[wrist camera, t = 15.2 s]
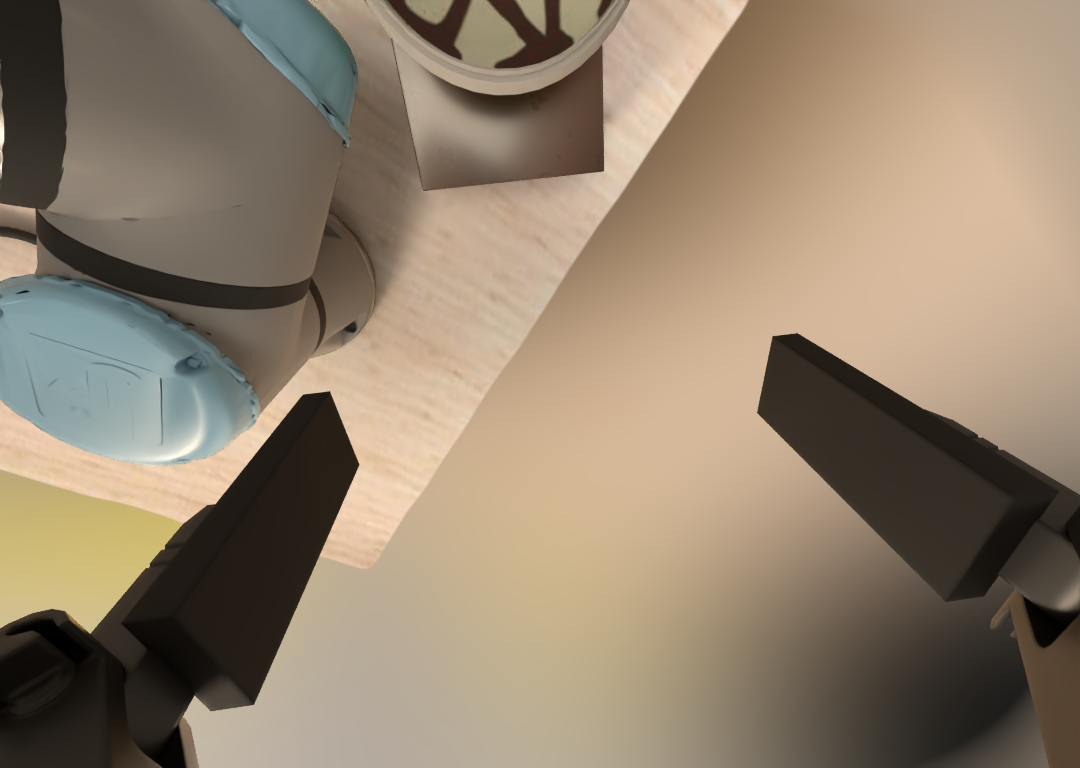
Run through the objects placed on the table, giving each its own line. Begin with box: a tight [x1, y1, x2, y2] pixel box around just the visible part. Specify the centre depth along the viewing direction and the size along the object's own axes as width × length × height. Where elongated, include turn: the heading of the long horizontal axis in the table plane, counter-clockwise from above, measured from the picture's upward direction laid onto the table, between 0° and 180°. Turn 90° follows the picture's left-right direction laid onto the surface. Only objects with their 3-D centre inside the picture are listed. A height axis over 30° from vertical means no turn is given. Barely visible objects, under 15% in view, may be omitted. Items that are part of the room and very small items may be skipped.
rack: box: [391, 38, 604, 191], centre depth 29 cm, size 12×15×12 cm
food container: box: [365, 0, 630, 95], centre depth 19 cm, size 12×6×10 cm, turn 70°
